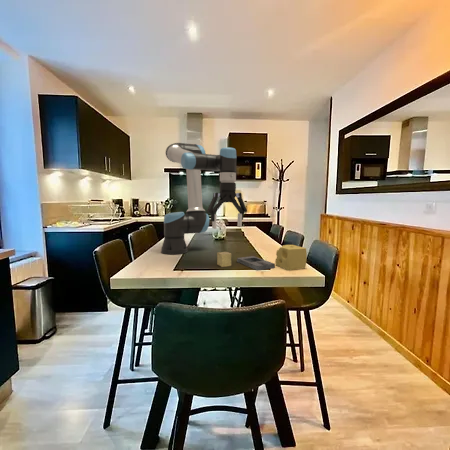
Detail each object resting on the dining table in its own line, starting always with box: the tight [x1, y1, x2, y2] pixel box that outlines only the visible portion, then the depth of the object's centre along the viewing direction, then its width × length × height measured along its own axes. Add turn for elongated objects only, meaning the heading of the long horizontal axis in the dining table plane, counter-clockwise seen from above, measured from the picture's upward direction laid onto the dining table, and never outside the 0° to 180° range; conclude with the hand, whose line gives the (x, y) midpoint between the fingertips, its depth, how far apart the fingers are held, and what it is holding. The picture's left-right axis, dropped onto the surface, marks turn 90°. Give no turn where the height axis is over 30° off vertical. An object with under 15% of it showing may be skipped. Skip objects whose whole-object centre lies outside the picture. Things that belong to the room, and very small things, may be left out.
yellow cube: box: [216, 251, 232, 268], centre depth 135 cm, size 5×5×6 cm
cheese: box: [274, 244, 308, 271], centre depth 132 cm, size 10×11×10 cm
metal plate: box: [236, 255, 276, 271], centre depth 136 cm, size 18×10×2 cm, turn 28°
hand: (227, 227), depth 131 cm, fingers open, 13 cm apart
